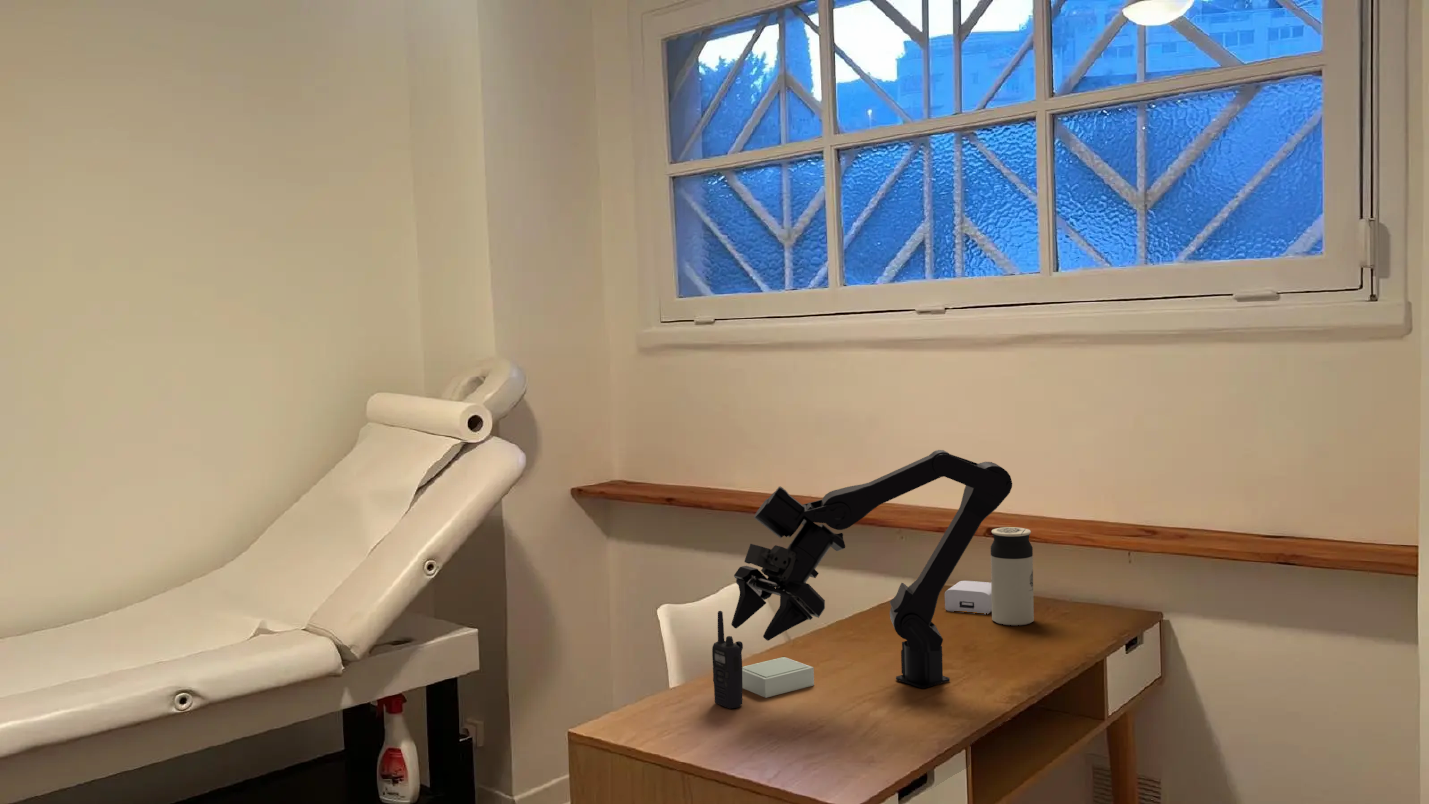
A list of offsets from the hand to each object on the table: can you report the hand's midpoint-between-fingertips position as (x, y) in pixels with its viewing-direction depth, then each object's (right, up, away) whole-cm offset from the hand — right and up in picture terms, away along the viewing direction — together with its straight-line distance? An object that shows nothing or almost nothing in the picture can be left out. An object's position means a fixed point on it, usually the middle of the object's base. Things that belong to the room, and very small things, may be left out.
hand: (749, 632), depth 185 cm
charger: (+49, -6, +57) cm, 75 cm away
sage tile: (+5, -10, +7) cm, 13 cm away
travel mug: (+53, -6, +42) cm, 68 cm away
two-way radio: (-3, -11, -1) cm, 12 cm away
